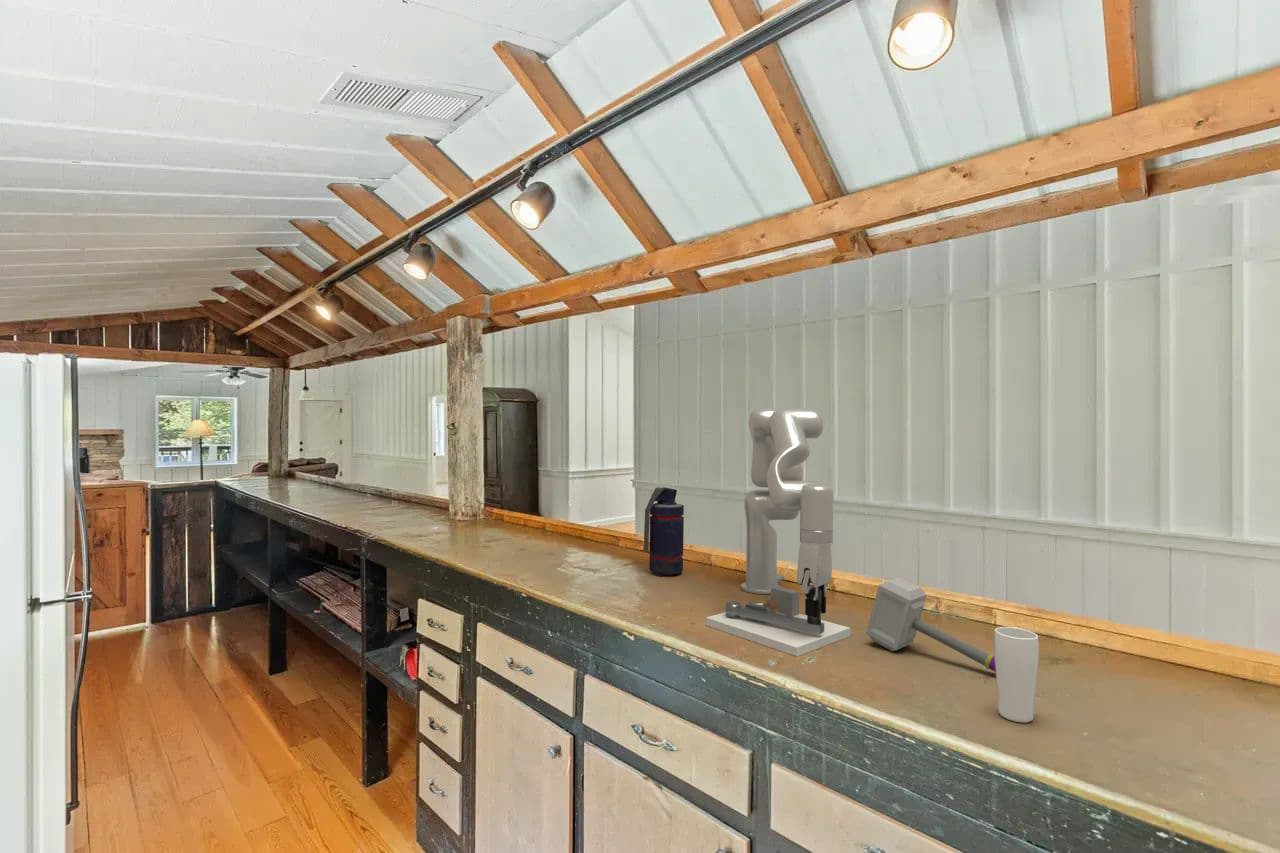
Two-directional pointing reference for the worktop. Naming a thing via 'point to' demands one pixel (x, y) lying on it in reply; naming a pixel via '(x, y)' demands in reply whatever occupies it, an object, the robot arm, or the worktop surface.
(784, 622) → the lever
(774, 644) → the base
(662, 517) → the grenade
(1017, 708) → the drinking glass
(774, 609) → the walnut
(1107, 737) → the worktop surface
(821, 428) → the robot arm
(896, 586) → the hammer
